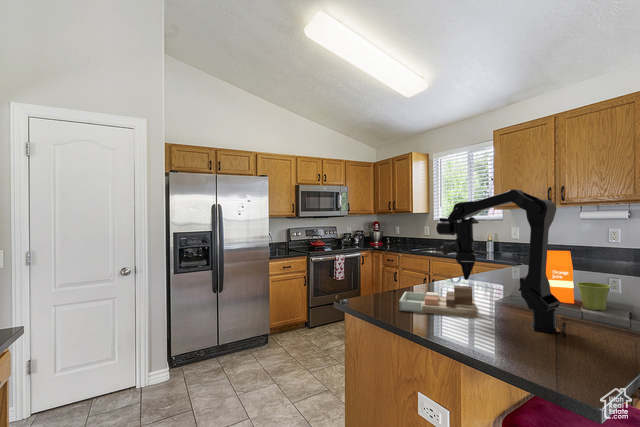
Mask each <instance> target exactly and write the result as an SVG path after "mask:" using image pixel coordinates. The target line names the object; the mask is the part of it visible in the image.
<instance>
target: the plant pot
mask: <svg viewBox="0 0 640 427" xmlns="http://www.w3.org/2000/svg"><path fill="white" fill-rule="evenodd" d="M576 286H577V287H578V289H579V292H580V298H581V302H582V306H583V308H585V309H587V310H592V311H596V310H597V311H600V312H601V311H606V309H607V301H608V293H609V291H610V288H612V287H611V285H609V284H605V283H599V282H581V281H580V282H576Z"/></svg>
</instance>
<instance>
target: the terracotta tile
mask: <svg viewBox="0 0 640 427" xmlns="http://www.w3.org/2000/svg"><path fill="white" fill-rule="evenodd" d="M425 304H428V305H438V297H433V296H426V295H425Z"/></svg>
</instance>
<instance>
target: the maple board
mask: <svg viewBox="0 0 640 427" xmlns="http://www.w3.org/2000/svg"><path fill="white" fill-rule="evenodd" d="M472 302H473V305H461V304H455V307H446V296H441V295H439V300H438V305H428V304H425V299H424V302H423V305H422V312H421V313H425V314H435V315H443V316H455V317H467V318H478V309H477V306H476V301H475V298H472Z"/></svg>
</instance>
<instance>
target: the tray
mask: <svg viewBox="0 0 640 427" xmlns="http://www.w3.org/2000/svg"><path fill="white" fill-rule="evenodd" d="M425 296H426V293H425V292H418V291H417V292H416V291H404V292H403V294H402V296H401V298H399V301H398V305H399V306H398V309H399V311H402V312H403V311H404V312H414V313H422V305H423V302H424V299H425Z"/></svg>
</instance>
